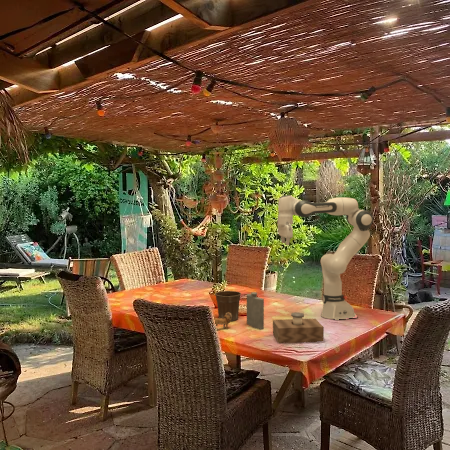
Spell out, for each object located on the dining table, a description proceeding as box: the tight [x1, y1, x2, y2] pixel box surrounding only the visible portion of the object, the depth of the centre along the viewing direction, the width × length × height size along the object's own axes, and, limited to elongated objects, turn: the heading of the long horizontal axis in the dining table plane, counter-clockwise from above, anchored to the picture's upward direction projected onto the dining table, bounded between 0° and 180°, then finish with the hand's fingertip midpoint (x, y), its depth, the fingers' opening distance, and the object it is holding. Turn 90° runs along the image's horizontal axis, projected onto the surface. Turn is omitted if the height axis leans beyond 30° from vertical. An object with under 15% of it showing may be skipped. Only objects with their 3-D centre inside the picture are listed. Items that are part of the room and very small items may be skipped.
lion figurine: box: [213, 312, 232, 332], centre depth 267 cm, size 15×5×9 cm, turn 122°
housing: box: [272, 318, 325, 344], centre depth 251 cm, size 24×16×8 cm, turn 95°
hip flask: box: [246, 291, 265, 331], centre depth 272 cm, size 16×4×20 cm, turn 29°
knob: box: [290, 311, 305, 325], centre depth 250 cm, size 7×7×7 cm
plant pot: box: [214, 290, 242, 322], centre depth 288 cm, size 16×16×16 cm
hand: (285, 244), depth 285 cm, fingers open, 8 cm apart
